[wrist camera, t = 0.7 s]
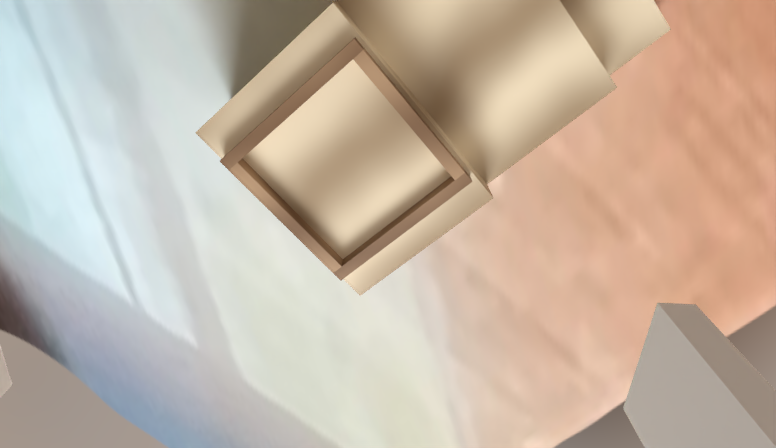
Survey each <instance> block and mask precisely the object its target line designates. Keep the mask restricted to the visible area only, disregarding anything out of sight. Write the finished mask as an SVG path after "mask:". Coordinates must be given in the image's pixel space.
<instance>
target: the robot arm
mask: <svg viewBox="0 0 776 448" xmlns="http://www.w3.org/2000/svg"><path fill="white" fill-rule="evenodd" d="M11 385H12V381H11V378H10V375H9V372H8V368H7V365H6V362H5V359H4V355H3V352H2V349H1V346H0V398H1V396H2V395H3V394H4V393H5V392H6V391H7V390H8V389H9V388H10V386H11ZM623 409H624V411H625V412H626V414H627V416H628V418H629V420H630V421H631V423H632V425H633V427H634V429H635V431H636V432H637V434H638V436H639V438H640V440H641V442H642V444H643V445H644V447H645V448H776V390H774V388H773V387H772V386H771V385H770V384H769V383H768V382H767V381H766V380H765V379H764V378H763V376H762V375H760V373H759V372H758V371H757V370H756V369H755V368H754V367H753V366H752V365H751V364H750V362H748V360H747V359H746V358H745V357H744V356H743V355H742V354H741V353H740V352H739V351H738V350H737V349H736V348H735V347H734V345H733V344H732V343H731V342H730V341H729V340H728V339H727V338H726V337H725V336H724V335H723V333H722V332H721V331H720V330H719V329H718V328H717V327H716V326H715V325H714V324H713V323H712V322H711V321H710V319H709V318H708V317H707V316H706V315H705V314H704V313H703V312H702V311H701V310H700V309H699V308H698V307H697V305H695V304H673V303H657V306H656V309H655V312H654V315H653V318H652V321H651V324H650V328H649V331H648V334H647V337H646V340H645V343H644V346H643V349H642V352H641V355H640V358H639V361H638V364H637V368H636V371H635V374H634V377H633V380H632V383H631V386H630V389H629V392H628V395H627V398H626V401H625V404H624V408H623Z"/></svg>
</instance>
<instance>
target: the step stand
mask: <svg viewBox="0 0 776 448" xmlns="http://www.w3.org/2000/svg"><path fill="white" fill-rule="evenodd" d="M669 30H671V29H670V27H669V25H668V24H667V22H666V20H665V18H664V17H663V15H662V13H661V12H660V10H659V8H658V7H657V5H656V3H655V2H654V0H337V1H335V2H333V3H332V4H331V5H330V6H329V7H328V8H327V9H326V10H324V11H323V12H322V13H321V14H320V15H319V16H318V17H317V18H316V19H315V20H314V21H313V22H312V23H311V24H310V25H309V26H308V27H307V28H305V29H304V30H303V31H302V32H301V33H300V34H299V35H298V36H297V37H296V38H295V39H294V40H293V41H292V42H291V43H290V44H289V45H288V46H286V47H285V48H284V49H283V50H282V51H281V52H280V53H279V54H278V55H277V56H276V57H275V58H274V59H273V60H272V61H271V62H270V63H269V64H267V65H266V66H265V67H264V68H263V69H262V70H261V71H260V72H259V73H258V74H257V75H256V76H255V77H254V78H253V79H252V80H251V81H250V82H249V83H247V84H246V85H245V86H244V87H243V88H242V89H241V90H240V91H239V92H238V93H237V94H236V95H235V96H234V97H233V98H232V99H231V100H230V101H228V102H227V103H226V104H225V105H224V106H223V107H222V108H221V109H220V110H219V111H218V112H217V113H216V114H215V115H214V116H213V117H212V118H211V119H209V120H208V121H207V122H206V123H205V124H204V125H203V126H202V127H201V128H200V129H199V130H198V131H197V132H196V134H197V135H198V136H199V137H200V138H201V139H202V140H203V141H204V142H205V143H206V144H207V145H208V146H209V147H210V148H211V149H212V150H213V151H214V152H215V153H216V154H217V155H218V156H219V157H220V158H221V160H220V162H221V163H222V164H223V165H224V166H225V167H226V168H227V169H228V170H229V171H230V172H231V173H232V174H233V175H234V176H235V177H236V178H237V179H238V180H239V181H240V182H241V183H242V184H243V185H244V186H245V187H246V188H247V189H248V190H249V191H250V192H251V193H252V194H253V195H254V196H255V197H256V198H257V199H258V200H259V201H261V202H262V203H263V204H264V205H265V206H266V207H267V208H268V209H269V210H270V211H271V212H272V213H273V214H274V215H275V216H276V217H277V218H278V219H279V220H280V221H281V222H282V223H283V224H284V225H285V226H286V227H287V228H288V229H289V230H290V231H291V232H292V233H293V234H294V235H295V236H296V237H297V238H298V239H299V240H300V241H301V242H302V243H303V244H304V245H305V246H306V247H307V248H308V249H309V250H310V251H311V252H312V253H313V254H314V255H315V256H316V257H317V258H318V259H319V260H320V261H321V262H322V263H323V264H324V265H325V266H326V267H328V268H329V269H330V270H331V271H332V272H333V273H334V274H335V275H336V276H337V277H338V278H339V279H340V280H342V279H344V280H345V281H346V282H347V283H348V284H349V285H350V286H351V287H352V288H353V289H354V290H355V291H356V292H357V293H358V294H359V295H362V294H363V293H365V292H366V291H367V290H369V289H370V288H371V287H373V286H374V285H375V284H377V283H378V282H380V281H381V280H382V279H384V278H385V277H386V276H388V275H389V274H391V273H392V272H393V271H395V270H396V269H397V268H399V267H400V266H401V265H403V264H404V263H406V262H407V261H408V260H410V259H411V258H412V257H414V256H415V255H416V254H418V253H419V252H421V251H422V250H423V249H425V248H426V247H427V246H429V245H430V244H431V243H433V242H434V241H436V240H437V239H438V238H440V237H441V236H442V235H444V234H445V233H446V232H448V231H449V230H451V229H452V228H453V227H455V226H456V225H457V224H459V223H460V222H462V221H463V220H464V219H466V218H467V217H468V216H470V215H471V214H472V213H474V212H475V211H477V210H478V209H479V208H481V207H482V206H483V205H485V204H486V203H487V202H489V201H490V200H492V199H493V196H492V194H491V192H490V190H489V188H488V185H487V184H488V183H490V182H491V181H492V180H494V179H495V178H496V177H498V176H499V175H500V174H502V173H503V172H504V171H506V170H507V169H508V168H510V167H511V166H512V165H514V164H515V163H516V162H518V161H519V160H520V159H522V158H523V157H524V156H526V155H527V154H529V153H530V152H531V151H533V150H534V149H535V148H537V147H538V146H539V145H541V144H542V143H543V142H545V141H546V140H547V139H549V138H550V137H551V136H553V135H554V134H555V133H557V132H558V131H559V130H561V129H562V128H563V127H565V126H566V125H568V124H569V123H570V122H572V121H573V120H574V119H576V118H577V117H578V116H580V115H581V114H582V113H584V112H585V111H586V110H588V109H589V108H590V107H592V106H593V105H594V104H596V103H597V102H598V101H600V100H601V99H602V98H604V97H605V96H607V95H608V94H609V93H611V92H612V91H613V90H615V89H616V88H617V86H616V85H615V83H614V82H613V80H612V79H611V77H610V75H611V74H612V73H614V72H615V71H616V70H618V69H619V68H620V67H622V66H623V65H624V64H626V63H627V62H628V61H630V60H631V59H632V58H634V57H635V56H636V55H638V54H639V53H640V52H641V51H643V50H644V49H645V48H647V47H648V46H649V45H651V44H652V43H653V42H655V41H656V40H657V39H659V38H660V37H661V36H663V35H664V34H665V33H667V32H668V31H669Z"/></svg>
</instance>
